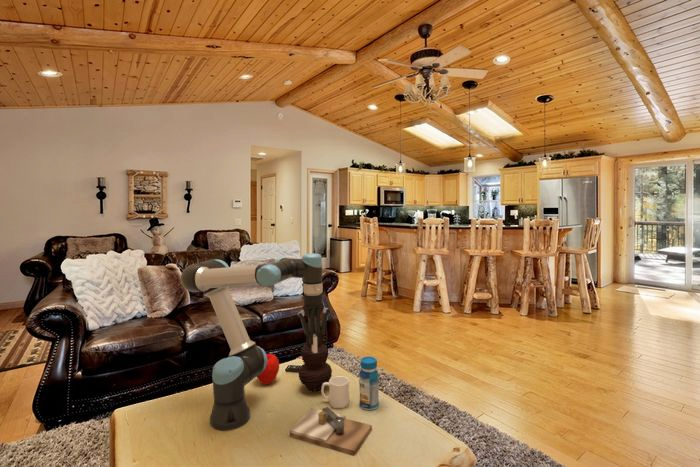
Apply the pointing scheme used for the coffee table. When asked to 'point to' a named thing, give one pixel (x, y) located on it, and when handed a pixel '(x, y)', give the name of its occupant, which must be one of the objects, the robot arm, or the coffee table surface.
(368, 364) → the beverage bottle
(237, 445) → the coffee table surface
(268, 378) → the apple
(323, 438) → the door board
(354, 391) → the coffee table surface
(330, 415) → the bar
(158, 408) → the coffee table surface
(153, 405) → the coffee table surface
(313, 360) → the vase
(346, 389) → the cup
